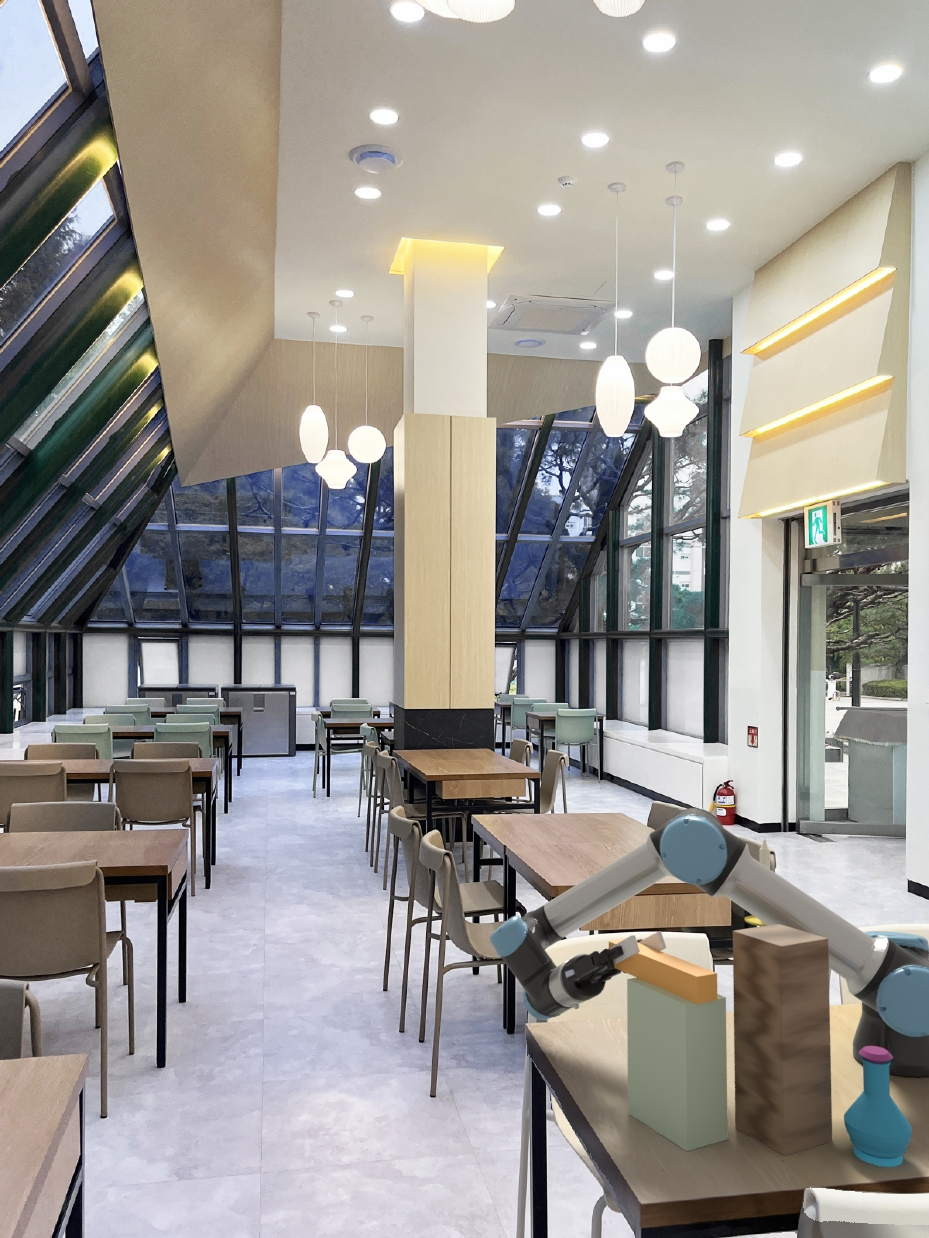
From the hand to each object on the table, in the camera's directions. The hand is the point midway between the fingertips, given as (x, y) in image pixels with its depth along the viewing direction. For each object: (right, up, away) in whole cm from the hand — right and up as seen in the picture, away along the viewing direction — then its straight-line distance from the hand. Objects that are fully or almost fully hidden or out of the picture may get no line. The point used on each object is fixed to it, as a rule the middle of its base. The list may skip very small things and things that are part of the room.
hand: (648, 941), depth 153 cm
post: (+19, -26, -10) cm, 34 cm away
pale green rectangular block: (+3, -26, -8) cm, 27 cm away
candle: (+32, -30, +39) cm, 59 cm away
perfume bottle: (+31, -26, -16) cm, 43 cm away
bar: (+1, -5, -3) cm, 6 cm away
